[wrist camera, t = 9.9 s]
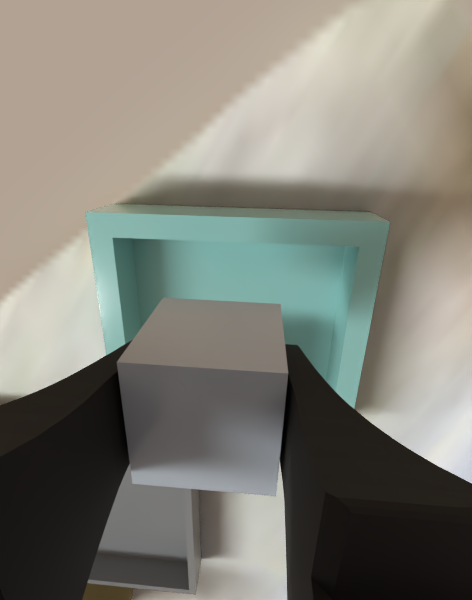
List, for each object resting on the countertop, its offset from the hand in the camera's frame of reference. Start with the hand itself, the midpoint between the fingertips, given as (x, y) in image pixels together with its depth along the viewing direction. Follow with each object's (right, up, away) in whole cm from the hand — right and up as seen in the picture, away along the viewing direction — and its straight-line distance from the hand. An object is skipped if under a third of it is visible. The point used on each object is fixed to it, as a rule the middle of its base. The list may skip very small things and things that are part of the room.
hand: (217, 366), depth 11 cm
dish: (+1, +1, +9) cm, 9 cm away
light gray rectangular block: (0, 0, +1) cm, 1 cm away
